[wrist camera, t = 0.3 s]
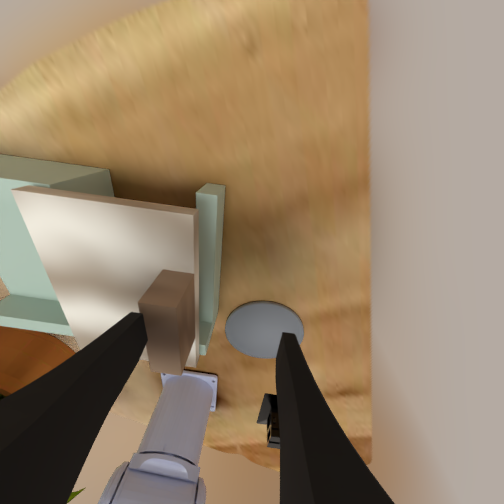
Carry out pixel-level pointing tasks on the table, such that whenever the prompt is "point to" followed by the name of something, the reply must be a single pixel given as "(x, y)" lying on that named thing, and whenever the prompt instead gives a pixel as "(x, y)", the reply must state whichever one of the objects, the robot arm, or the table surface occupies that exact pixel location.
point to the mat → (261, 328)
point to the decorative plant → (28, 360)
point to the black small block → (270, 420)
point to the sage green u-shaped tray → (31, 267)
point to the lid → (120, 267)
